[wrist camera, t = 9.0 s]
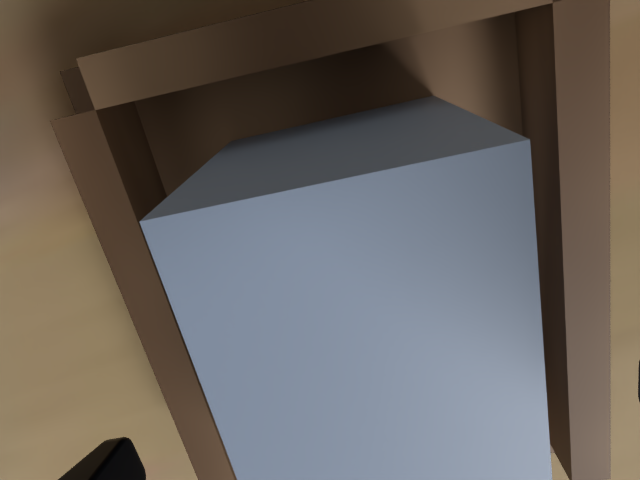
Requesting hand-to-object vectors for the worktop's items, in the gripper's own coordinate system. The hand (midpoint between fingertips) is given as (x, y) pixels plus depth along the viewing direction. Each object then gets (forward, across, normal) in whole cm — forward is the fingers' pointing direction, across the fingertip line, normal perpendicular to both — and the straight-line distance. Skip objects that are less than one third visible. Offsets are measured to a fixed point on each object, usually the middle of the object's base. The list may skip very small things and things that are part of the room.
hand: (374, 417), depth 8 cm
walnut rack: (+6, 0, 0) cm, 6 cm away
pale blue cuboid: (+5, 0, 0) cm, 5 cm away
